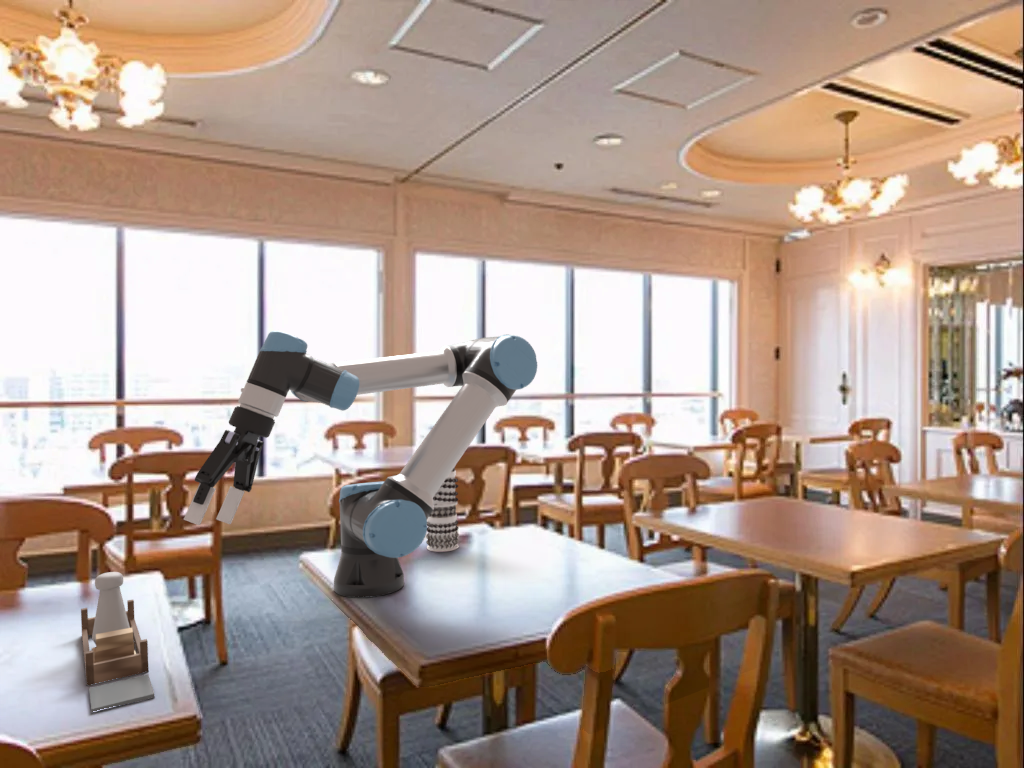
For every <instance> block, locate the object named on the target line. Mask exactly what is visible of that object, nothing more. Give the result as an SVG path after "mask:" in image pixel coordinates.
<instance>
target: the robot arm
mask: <svg viewBox="0 0 1024 768" xmlns="http://www.w3.org/2000/svg"><path fill="white" fill-rule="evenodd" d="M307 349H308V343H307V342H306V341H305V340H304V339H302V338H299V337H298V336H295V335H293V334H291V333H288V332H285V331H282V330H279V329H277V330H272V331H270V332H268V334H267V336H266V339H265V341H264V342H263V344H262V346H261V348H260V349H259V351H258V354H257V356H256V359H255V361H254V364H253V366H252V368H251V370H250V372H249V375H248V378H247V380H246V382H245V384H244V387H241V388H240V392H241V394H240V396H239V397H238V401H237V402H238V404H240V405H239V406H238V405H236V407H234V408H233V410H232V413H231V415H230V418H229V420H228V424H229V425H230V426H232V427H234V428H235V429H234V430H233V431H231V430H229V429H226V430H224V432H223V434H222V436H221V437H220V439H219V442H218V443H217V444H216V446H215V447H214V448H213V451H211V453H210V455H209V456H208V458H207V459H206V460H205V462H204V463H203V465H202V466H201V468H200V469H199V470H198V472H197V473H196V474H195V477H194V482H196V483H199V484H198V486H197V489H196V491H195V493H194V495H193V497H192V500H191V502H190V504H189V506H188V509H187V511H186V513H185V515H184V517H183V520H184V521H187V522H189V523H191V524H195V525H196V526H201V524H202V521H203V519H204V517H205V515H206V512H207V511H208V508H209V506H210V504H211V501H212V498H213V496H214V495H215V492H216V489H217V488H215V486H216V485H217V483H219V481H220V480H222V477H223V476H224V475H225V474H226V473H227V471H228V470H229V469H230V468H231V467H232V466H233V464H234V463H235V464H234V476H233V486H231V485H230V486H229V488H228V491H227V493H226V496H225V497H224V500H223V502H222V505H221V507H220V510H219V512H218V514H217V516H216V518H215V520H216V521H219V522H222V523H224V524H227V525H231V524H232V523H233V521H234V518H235V515H236V513H237V511H238V508H239V506H240V504H241V502H242V498H243V496H244V494H245V492H247V493H250V492H251V491H252V487H253V485H254V479H255V476H256V471H257V468H258V463H259V460H260V456H261V455H260V454H261V452H262V450H263V447H264V443H265V442H264V441H262V440H260V439H259V438H260V437H262V438H264V439H267V438H269V437H270V435H271V434H272V433H271V432H272V430H273V428H274V426H275V424H276V422H275V419H274V417H276V418H278V417H279V415H280V412H281V411H282V408H283V406H284V402H285V401H286V398H287V396H288V393H289V391H290V392H291V393H292V395H293V396H294V397H296V398H297V399H299V400H300V401H302V402H313V403H318V404H319V403H320V404H323V405H325V406H328V407H329V408H331V409H336V410H340V411H341V412H342V411H346V410H348V409H349V408H350V407H351V406H352V405H353V403H354V401H355V400H356V397H357V396H359V395H367V394H372V393H373V394H374V393H383V392H389V391H391V392H392V391H397V390H398V391H399V390H403V389H404V390H406V389H412V388H420V387H425V386H426V387H427V386H437V385H441V384H442V385H444V386H446V387H447V388H453V387H461V388H459V390H458V391H457V392H456V394H455V396H454V397H453V398H452V400H451V402H450V403H449V404H448V405H447V406H446V408H445V410H443V412H442V414H441V415H440V417H438V419H437V420H436V423H435V424H434V425H433V427H432V428H431V429H430V430H429V432H428V434H427V435H426V436H425V438H424V439H423V440H422V441H421V443H420V445H419V446H418V447H417V448H416V450H415V452H414V453H413V454H412V456H411V457H410V459H409V460H408V461H407V463H406V464H405V465H404V467H403V468H402V470H401V471H400V473H398V474H397V475H396V474H395V475H392V476H387V478H386V479H385V480H384V481H383V480H382V481H369V482H362V483H352V484H346V485H344V486H342V487H341V488H340V490H339V499H338V503H339V517H340V518H339V519H340V525H339V526H340V546H341V548H340V557H339V561H338V564H337V568H336V572H335V574H334V579H333V590H334V592H335V594H337V595H339V596H343V597H348V598H373V597H379V596H385V595H389V594H392V593H394V592H395V593H396V592H397V591H399V590H400V589H402V588H403V587H404V586H405V574H404V570H403V568H402V566H401V563H400V560H399V558H402V557H403V558H404V557H405V556H408V555H411V553H413V552H414V551H416V550H417V549H418V548H419V547H420V546H421V544H422V543H424V540H425V538H426V535H427V533H428V532H427V527H428V526H427V519H428V517H429V516H430V514H431V513H432V511H433V510H434V505H433V497H434V496H435V494H436V493H437V491H438V490H439V488H440V487H441V485H442V484H443V483H444V481H445V480H446V478H447V477H448V475H449V474H450V472H451V471H452V470H453V468H454V467H456V465H457V464H458V462H459V461H460V460H461V458H462V456H463V455H464V454H465V452H466V451H467V449H468V448H469V447H470V445H471V443H472V442H473V441H474V439H475V437H477V435H478V433H479V432H480V430H481V429H482V428H483V426H484V425H485V423H486V422H487V420H488V419H489V418H490V416H491V414H493V412H494V411H495V409H496V408H498V407H504V406H506V405H507V404H508V402H509V401H510V400H511V399H512V398H513V395H514V394H515V392H516V391H517V390H523V389H524V388H526V387H528V386H529V385H531V383H532V382H533V380H534V379H535V377H536V374H537V372H538V361H537V354H536V351H535V350H534V348H533V346H532V345H531V343H529V341H527V340H526V339H525V338H523V337H521V336H518V335H514V334H513V335H511V334H502V335H498V336H487V337H486V336H485V337H480V338H476V339H472V340H469V341H465V342H460V343H456V344H452V345H443V346H441V347H440V349H439V350H436V351H427V352H417V353H409V354H402V355H394V356H393V355H392V356H391V355H390V356H383V357H374V358H365V359H356V360H348V361H347V360H346V361H345V360H344V361H338V362H337V361H335V362H330V363H327V362H326V361H325V362H324V361H323V360H320V359H318V358H316V357H313V356H312V355H310V354H309V353H307V351H308V350H307Z"/></svg>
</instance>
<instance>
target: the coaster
mask: <svg viewBox="0 0 1024 768" xmlns="http://www.w3.org/2000/svg"><path fill="white" fill-rule="evenodd" d="M150 678H151V677H150V675H149V673H148V674H143V675H138V676H135V677H134V676H133V677H131V678H126V679H122V680H117V681H114V682H110V683H105V684H100V685H97V686H92V687H89V688H88V692H89V701H90V712H93V711H97V710H100V709H104V708H109V707H113V706H119V705H123V706H125V705H124V704H127V705H129V704H128V703H131V704H134V703H133V702H135V703H139V702H142V701H145V700H146V699H147V700H150V699H155V698H154V697H156V696H155V691H154V687H153V685H152V681H151V679H150ZM138 701H139V702H138ZM119 707H120V706H119Z"/></svg>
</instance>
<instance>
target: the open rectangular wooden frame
mask: <svg viewBox="0 0 1024 768" xmlns="http://www.w3.org/2000/svg"><path fill="white" fill-rule="evenodd" d="M126 603H127V604H126V605H127V610H126V614H127V618H128V622H129V626H130V628H132V630H133V643H134V648H135V652H136V654H134V655H129V656H125V657H120V658H115V659H111V660H106V661H102V662H97V663H93V650H92V649H91V650H90V644H89V643H90V642H89V636H88V635H90V636H92V634H93V628H94V622H95V616H94V617H92V616H91V617H89V616H88V614H89V612H88V607H85V608H80V621H81V640H82V641H83V642H82V650H83V661H84V662H85V663H84V673H85V681H86V686H87V685H89V686H92V685H91V684H93V685H96V684H95V683H97V684H100V683H99V682H102V683H104V681H106V682H109V681H108V680H110V681H113V680H112V679H115V680H117V679H116V678H119V679H123V678H127V676H128V677H131V676H135V674H136V675H140V674H145V673H149V648H148V647H149V646H148V645H149V644H148V639H147V638H145V639H142V637H141V635H140V632H139V628H138V625H137V622H136V620H135V619H136V618H135V600H134V599H128V600H127V602H126ZM122 677H123V678H122Z"/></svg>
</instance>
